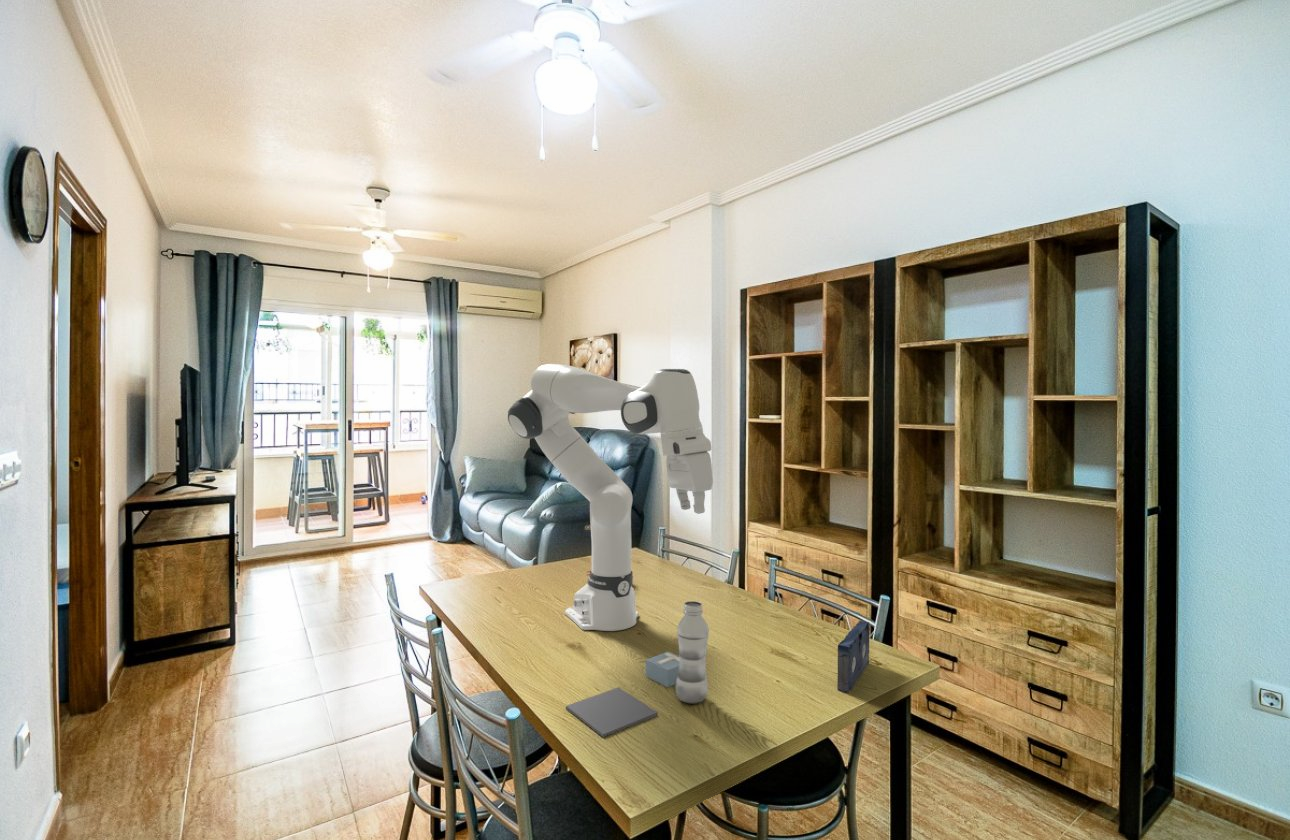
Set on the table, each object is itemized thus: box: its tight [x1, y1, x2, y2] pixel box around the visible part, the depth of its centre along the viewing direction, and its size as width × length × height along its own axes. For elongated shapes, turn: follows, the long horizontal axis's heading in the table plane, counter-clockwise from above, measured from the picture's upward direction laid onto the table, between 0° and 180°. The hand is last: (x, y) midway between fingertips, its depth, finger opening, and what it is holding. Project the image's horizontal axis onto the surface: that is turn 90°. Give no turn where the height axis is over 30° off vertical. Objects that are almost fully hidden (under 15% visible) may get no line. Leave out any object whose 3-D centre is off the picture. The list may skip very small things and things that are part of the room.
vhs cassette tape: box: [836, 620, 871, 694], centre depth 136 cm, size 18×3×10 cm, turn 145°
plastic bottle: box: [674, 600, 710, 704], centre depth 123 cm, size 6×7×20 cm
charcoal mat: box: [565, 687, 659, 738], centre depth 118 cm, size 13×13×1 cm
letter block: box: [645, 651, 679, 688], centre depth 134 cm, size 7×7×4 cm
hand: (692, 511), depth 124 cm, fingers open, 8 cm apart
